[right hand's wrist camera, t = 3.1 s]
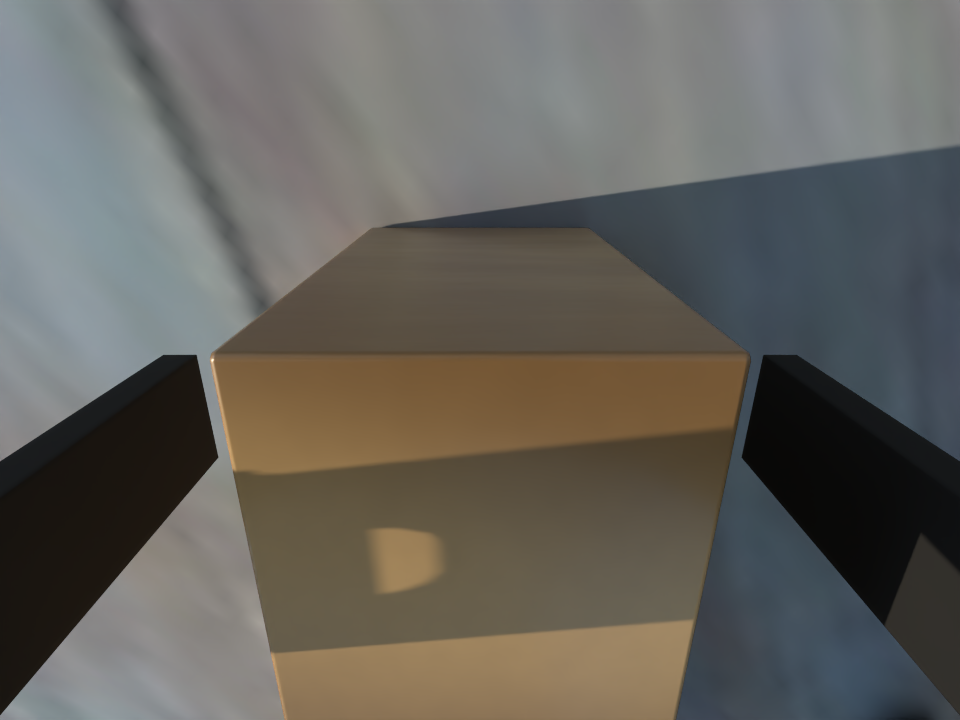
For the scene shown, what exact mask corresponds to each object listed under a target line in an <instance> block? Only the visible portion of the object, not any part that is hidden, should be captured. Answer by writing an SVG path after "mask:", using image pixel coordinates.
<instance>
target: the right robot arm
mask: <svg viewBox="0 0 960 720" xmlns="http://www.w3.org/2000/svg"><path fill="white" fill-rule="evenodd" d="M217 458H218V454H217V449H216V444H215V440H214V435H213V430H212V426H211V421H210V416H209V411H208V407H207V402H206V397H205V393H204V388H203V383H202V379H201V374H200V369H199V364H198V360H197V355H163V356H161V357H160V358H158V359H156V360H155V361H153V362H152V363H150V364H149V365H147V366H146V367H144V368H143V369H141V370H140V371H138V372H137V373H135V374H133V375H132V376H130V377H129V378H127V379H126V380H124V381H123V382H121V383H120V384H118V385H117V386H115V387H114V388H112V389H111V390H109V391H107V392H106V393H104V394H103V395H101V396H100V397H98V398H97V399H95V400H94V401H92V402H91V403H89V404H88V405H86V406H84V407H83V408H81V409H80V410H78V411H77V412H75V413H74V414H72V415H71V416H69V417H68V418H66V419H65V420H63V421H61V422H60V423H58V424H57V425H55V426H54V427H52V428H51V429H49V430H48V431H46V432H45V433H43V434H42V435H40V436H39V437H37V438H35V439H34V440H32V441H31V442H29V443H28V444H26V445H25V446H23V447H22V448H20V449H19V450H17V451H16V452H14V453H12V454H11V455H9V456H8V457H6V458H5V459H3V460H2V461H0V715H1V714H2V712H3V711H4V710H5V709H6V708H7V707H8V705H9V704H10V703H11V702H12V701H13V699H14V698H15V697H16V696H17V695H18V694H19V692H20V691H21V690H22V689H23V688H24V686H25V685H26V684H27V683H28V682H29V681H30V679H31V678H32V677H33V676H34V675H35V673H36V672H37V671H38V670H39V669H40V668H41V666H42V665H43V664H44V663H45V662H46V660H47V659H48V658H49V657H50V656H51V655H52V653H53V652H54V651H55V650H56V649H57V647H58V646H59V645H60V644H61V643H62V642H63V640H64V639H65V638H66V637H67V636H68V634H69V633H70V632H71V631H72V630H73V629H74V627H75V626H76V625H77V624H78V623H79V621H80V620H81V619H82V618H83V617H84V616H85V614H86V613H87V612H88V611H89V610H90V608H91V607H92V606H93V605H94V604H95V603H96V601H97V600H98V599H99V598H100V597H101V595H102V594H103V593H104V592H105V591H106V590H107V588H108V587H109V586H110V585H111V584H112V582H113V581H114V580H115V579H116V578H117V577H118V575H119V574H120V573H121V572H122V571H123V569H124V568H125V567H126V566H127V565H128V564H129V562H130V561H131V560H132V559H133V558H134V556H135V555H136V554H137V553H138V552H139V551H140V549H141V548H142V547H143V546H144V545H145V543H146V542H147V541H148V540H149V539H150V538H151V536H152V535H153V534H154V533H155V532H156V530H157V529H158V528H159V527H160V526H161V525H162V523H163V522H164V521H165V520H166V519H167V517H168V516H169V515H170V514H171V513H172V512H173V510H174V509H175V508H176V507H177V506H178V504H179V503H180V502H181V501H182V500H183V499H184V497H185V496H186V495H187V494H188V493H189V492H190V490H191V489H192V488H193V487H194V486H195V484H196V483H197V482H198V481H199V480H200V479H201V477H202V476H203V475H204V474H205V473H206V471H207V470H208V469H209V468H210V467H211V466H212V464H213V463H214V462H215V461H216V460H217ZM742 458H743V460H744V461H745V462H746V463H747V464H748V466H749V467H750V468H751V469H752V470H753V471H754V473H755V474H756V475H757V476H758V477H759V479H760V480H761V481H762V482H763V483H764V484H765V486H766V487H767V488H768V489H769V490H770V492H771V493H772V494H773V495H774V496H775V497H776V499H777V500H778V501H779V502H780V503H781V505H782V506H783V507H784V508H785V509H786V510H787V512H788V513H789V514H790V515H791V516H792V517H793V519H794V520H795V521H796V522H797V523H798V525H799V526H800V527H801V528H802V529H803V530H804V532H805V533H806V534H807V535H808V536H809V538H810V539H811V540H812V541H813V542H814V543H815V545H816V546H817V547H818V548H819V549H820V551H821V552H822V553H823V554H824V555H825V556H826V558H827V559H828V560H829V561H830V562H831V564H832V565H833V566H834V567H835V568H836V569H837V571H838V572H839V573H840V574H841V575H842V577H843V578H844V579H845V580H846V581H847V582H848V584H849V585H850V586H851V587H852V588H853V590H854V591H855V592H856V593H857V594H858V595H859V597H860V598H861V599H862V600H863V601H864V603H865V604H866V605H867V606H868V607H869V608H870V610H871V611H872V612H873V613H874V614H875V616H876V617H877V618H878V619H879V620H880V621H881V623H882V624H883V625H884V626H885V627H886V629H887V630H888V631H889V632H890V633H891V634H892V636H893V637H894V638H895V639H896V640H897V642H898V643H899V644H900V645H901V646H902V647H903V649H904V650H905V651H906V652H907V653H908V655H909V656H910V657H911V658H912V659H913V660H914V662H915V663H916V664H917V665H918V666H919V668H920V669H921V670H922V671H923V672H924V673H925V675H926V676H927V677H928V678H929V679H930V681H931V682H932V683H933V684H934V685H935V686H936V688H937V689H938V690H939V691H940V692H941V694H942V695H943V696H944V697H945V698H946V699H947V701H948V702H949V703H950V704H951V705H952V707H953V708H954V709H955V710H956V711H957V712H958V714H959V715H960V461H958V460H957V459H955V458H954V457H952V456H951V455H949V454H948V453H946V452H944V451H943V450H941V449H940V448H938V447H937V446H935V445H934V444H932V443H931V442H929V441H928V440H926V439H925V438H923V437H921V436H920V435H918V434H917V433H915V432H914V431H912V430H911V429H909V428H908V427H906V426H905V425H903V424H902V423H900V422H899V421H897V420H895V419H894V418H892V417H891V416H889V415H888V414H886V413H885V412H883V411H882V410H880V409H879V408H877V407H876V406H874V405H872V404H871V403H869V402H868V401H866V400H865V399H863V398H862V397H860V396H859V395H857V394H856V393H854V392H853V391H851V390H849V389H848V388H846V387H845V386H843V385H842V384H840V383H839V382H837V381H836V380H834V379H833V378H831V377H830V376H828V375H827V374H825V373H823V372H822V371H820V370H819V369H817V368H816V367H814V366H813V365H811V364H810V363H808V362H807V361H805V360H804V359H802V358H800V357H799V356H797V355H763V360H762V364H761V369H760V374H759V379H758V383H757V388H756V393H755V397H754V402H753V407H752V411H751V416H750V421H749V426H748V430H747V435H746V440H745V444H744V449H743V454H742Z"/></svg>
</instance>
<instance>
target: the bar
mask: <svg viewBox="0 0 960 720" xmlns="http://www.w3.org/2000/svg"><path fill="white" fill-rule="evenodd" d="M210 363H211V368H212V373H213V377H214V382H215V387H216V392H217V397H218V401H219V406H220V411H221V416H222V421H223V425H224V430H225V435H226V440H227V445H228V449H229V454H230V459H231V464H232V469H233V473H234V478H235V483H236V488H237V493H238V497H239V502H240V507H241V512H242V517H243V521H244V526H245V531H246V536H247V541H248V545H249V550H250V555H251V560H252V565H253V569H254V574H255V579H256V584H257V589H258V593H259V598H260V603H261V608H262V613H263V617H264V622H265V627H266V632H267V637H268V641H269V646H270V651H271V656H272V661H273V665H274V670H275V675H276V680H277V685H278V689H279V694H280V699H281V704H282V709H283V713H284V718H285V720H676V717H677V712H678V707H679V702H680V698H681V693H682V688H683V683H684V678H685V674H686V669H687V664H688V659H689V655H690V650H691V645H692V640H693V635H694V631H695V626H696V621H697V616H698V611H699V607H700V602H701V597H702V592H703V588H704V583H705V578H706V573H707V568H708V564H709V559H710V554H711V549H712V544H713V540H714V535H715V530H716V525H717V521H718V516H719V511H720V506H721V501H722V497H723V492H724V487H725V482H726V478H727V473H728V468H729V463H730V458H731V454H732V449H733V444H734V439H735V434H736V430H737V425H738V420H739V415H740V411H741V406H742V401H743V396H744V391H745V387H746V382H747V377H748V372H749V367H750V363H751V359H750V354H749V353H748V352H747V351H746V350H745V349H743V348H742V347H741V346H740V345H738V344H737V343H736V342H734V341H733V340H732V339H731V338H729V337H728V336H727V335H725V334H724V333H723V332H722V331H720V330H719V329H718V328H716V327H715V326H714V325H713V324H711V323H710V322H709V321H707V320H706V319H705V318H704V317H702V316H701V315H700V314H698V313H697V312H696V311H695V310H693V309H692V308H691V307H689V306H688V305H687V304H686V303H684V302H683V301H682V300H680V299H679V298H678V297H677V296H675V295H674V294H673V293H671V292H670V291H669V290H668V289H666V288H665V287H664V286H662V285H661V284H660V283H659V282H657V281H656V280H655V279H654V278H652V277H651V276H650V275H648V274H647V273H646V272H645V271H643V270H642V269H641V268H639V267H638V266H637V265H636V264H634V263H633V262H632V261H630V260H629V259H628V258H627V257H625V256H624V255H623V254H621V253H620V252H619V251H618V250H616V249H615V248H614V247H612V246H611V245H610V244H609V243H607V242H606V241H605V240H603V239H602V238H601V237H600V236H598V235H597V234H596V233H594V232H593V231H592V230H591V229H589V228H372V229H370V230H369V231H367V232H366V233H365V234H363V235H362V236H361V237H360V238H358V239H357V240H356V241H355V242H353V243H352V244H351V245H349V246H348V247H347V248H346V249H344V250H343V251H342V252H340V253H339V254H338V255H337V256H335V257H334V258H333V259H331V260H330V261H329V262H328V263H326V264H325V265H324V266H323V267H321V268H320V269H319V270H317V271H316V272H315V273H314V274H312V275H311V276H310V277H308V278H307V279H306V280H305V281H303V282H302V283H301V284H299V285H298V286H297V287H296V288H294V289H293V290H292V291H291V292H289V293H288V294H287V295H285V296H284V297H283V298H282V299H280V300H279V301H278V302H276V303H275V304H274V305H273V306H271V307H270V308H269V309H267V310H266V311H265V312H264V313H262V314H261V315H260V316H258V317H257V318H256V319H255V320H253V321H252V322H251V323H250V324H248V325H247V326H246V327H244V328H243V329H242V330H241V331H239V332H238V333H237V334H235V335H234V336H233V337H232V338H230V339H229V340H228V341H226V342H225V343H224V344H223V345H221V346H220V347H219V348H218V349H216V350H215V351H214V352H212V354H211V358H210Z"/></svg>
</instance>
